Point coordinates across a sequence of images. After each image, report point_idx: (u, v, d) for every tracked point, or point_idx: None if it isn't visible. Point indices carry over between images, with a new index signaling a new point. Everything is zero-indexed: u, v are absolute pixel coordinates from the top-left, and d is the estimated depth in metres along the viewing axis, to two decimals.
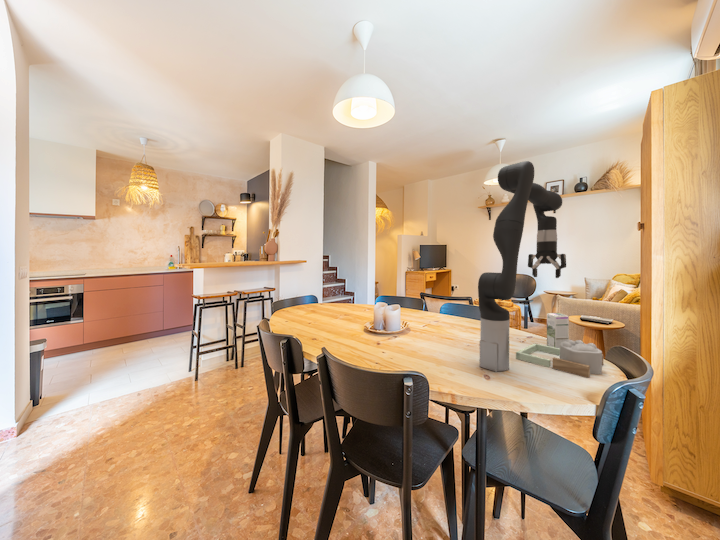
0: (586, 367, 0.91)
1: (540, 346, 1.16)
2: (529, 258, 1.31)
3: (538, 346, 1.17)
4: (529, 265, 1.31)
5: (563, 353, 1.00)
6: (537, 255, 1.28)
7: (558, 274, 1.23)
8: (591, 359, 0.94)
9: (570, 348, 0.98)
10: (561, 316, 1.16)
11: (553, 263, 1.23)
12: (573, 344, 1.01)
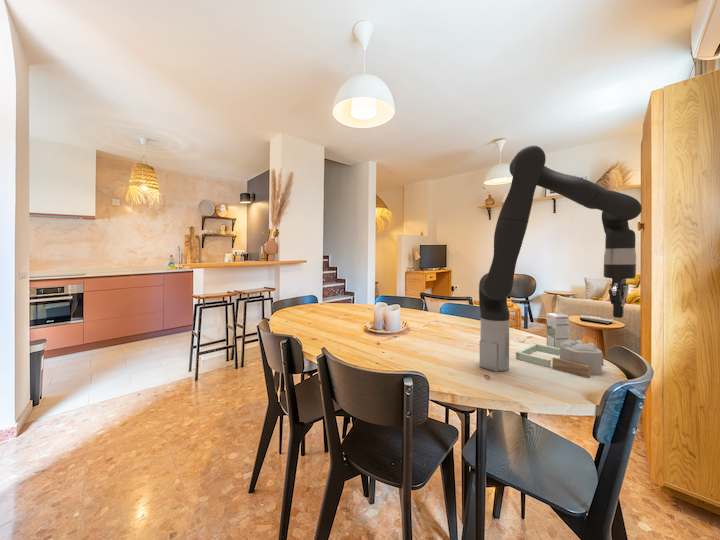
0: (586, 367, 0.91)
1: (540, 346, 1.16)
2: (620, 295, 0.87)
3: (538, 346, 1.17)
4: (621, 302, 0.88)
5: (563, 353, 1.00)
6: (621, 284, 0.88)
7: None
8: (591, 359, 0.94)
9: (570, 348, 0.98)
10: (561, 316, 1.16)
11: (626, 296, 0.90)
12: (573, 344, 1.01)
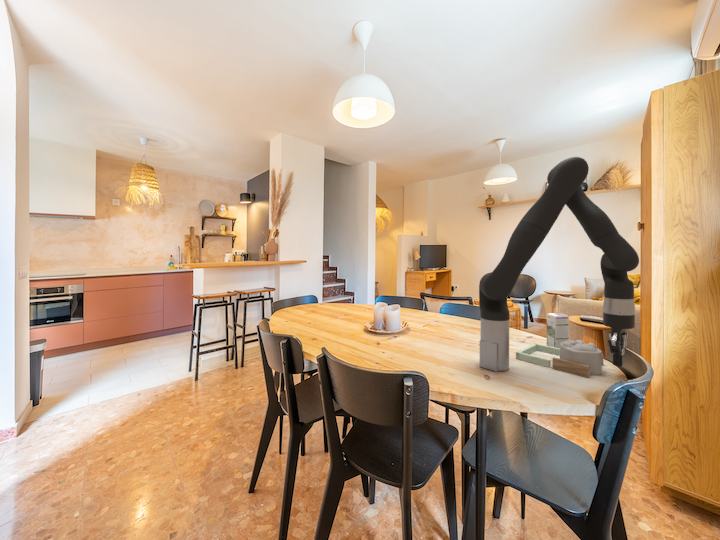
0: (586, 367, 0.91)
1: (540, 346, 1.16)
2: (619, 346, 0.88)
3: (538, 346, 1.17)
4: (621, 352, 0.89)
5: (563, 353, 1.00)
6: (620, 334, 0.89)
7: None
8: (591, 359, 0.94)
9: (570, 348, 0.98)
10: (561, 316, 1.16)
11: (625, 345, 0.91)
12: (573, 344, 1.01)
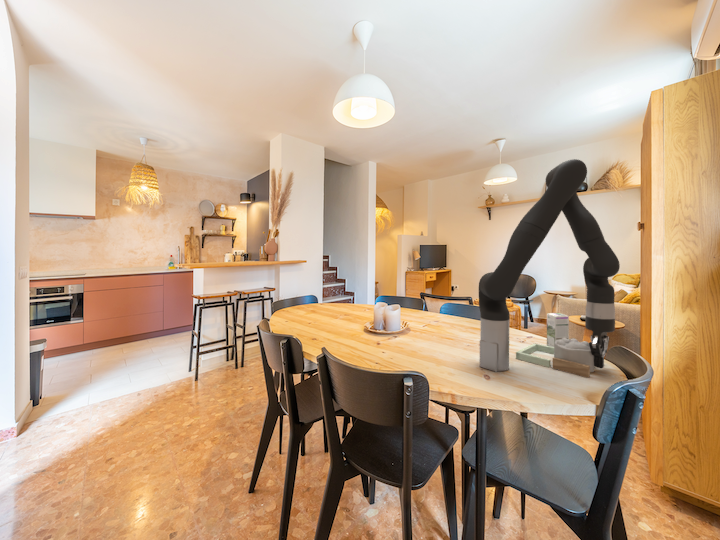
0: (586, 367, 0.91)
1: (540, 346, 1.16)
2: (599, 348, 0.91)
3: (538, 346, 1.17)
4: (601, 354, 0.93)
5: (557, 351, 1.02)
6: (600, 337, 0.92)
7: None
8: (583, 357, 0.95)
9: (563, 346, 1.00)
10: (561, 316, 1.16)
11: (606, 347, 0.94)
12: (566, 342, 1.03)
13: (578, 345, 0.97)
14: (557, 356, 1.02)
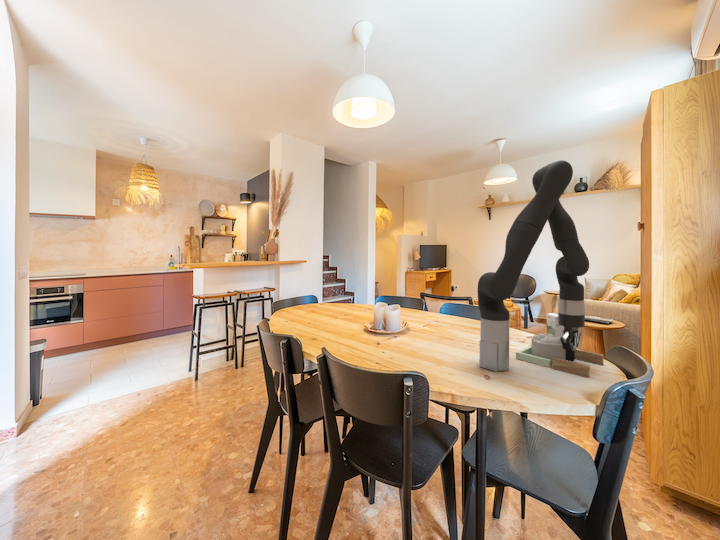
0: (586, 367, 0.91)
1: None
2: (570, 342, 0.98)
3: None
4: (572, 348, 0.99)
5: (532, 345, 1.09)
6: (571, 332, 0.98)
7: None
8: (555, 351, 1.02)
9: (538, 340, 1.06)
10: None
11: (577, 342, 1.01)
12: (542, 337, 1.09)
13: (551, 340, 1.04)
14: (533, 350, 1.08)
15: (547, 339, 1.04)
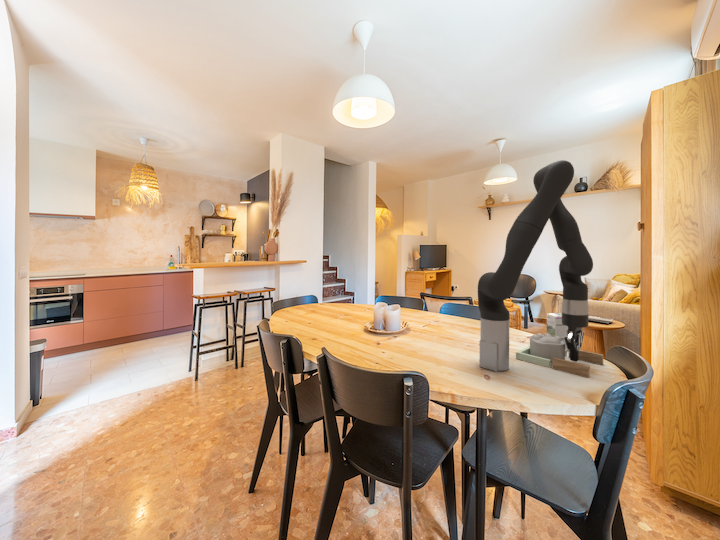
0: (586, 367, 0.91)
1: None
2: (574, 342, 0.97)
3: None
4: (576, 348, 0.99)
5: (531, 345, 1.09)
6: (575, 332, 0.98)
7: None
8: (554, 350, 1.03)
9: (537, 340, 1.07)
10: (561, 316, 1.16)
11: (581, 342, 1.00)
12: (541, 337, 1.10)
13: (550, 339, 1.05)
14: (531, 350, 1.09)
15: (546, 339, 1.05)
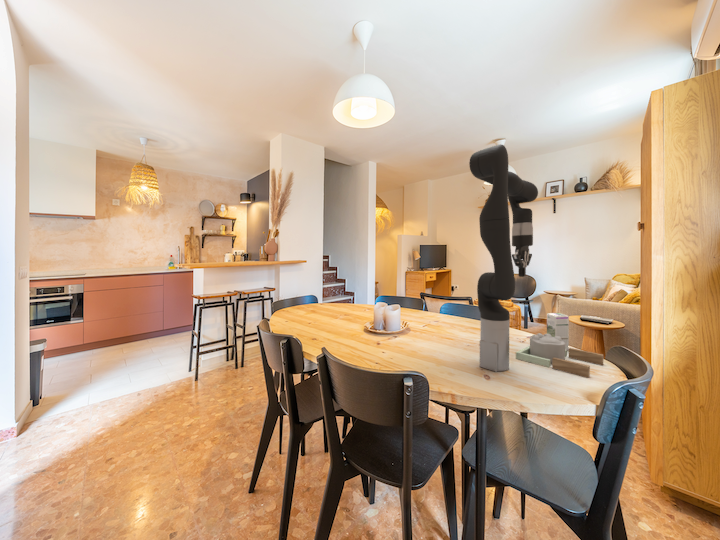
0: (586, 367, 0.91)
1: None
2: (519, 258, 1.15)
3: None
4: (522, 264, 1.16)
5: (531, 345, 1.09)
6: (521, 250, 1.15)
7: None
8: (554, 350, 1.03)
9: (537, 340, 1.07)
10: (561, 316, 1.16)
11: (527, 260, 1.18)
12: (541, 337, 1.10)
13: (550, 339, 1.05)
14: (531, 350, 1.09)
15: (546, 339, 1.05)
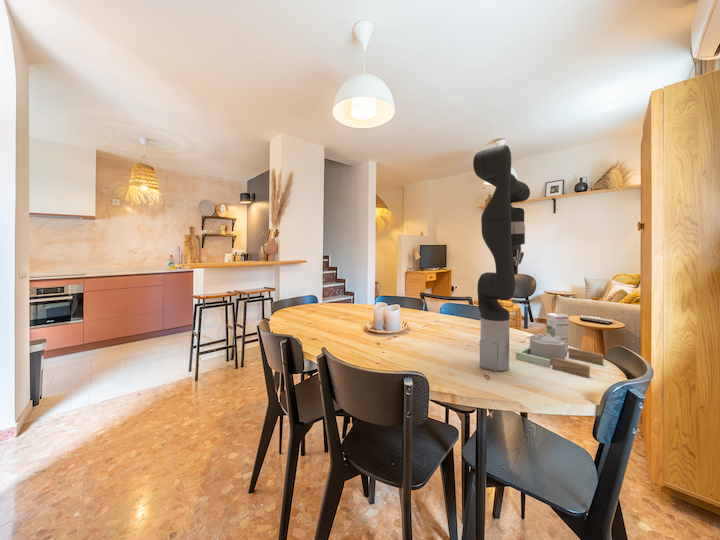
0: (586, 367, 0.91)
1: None
2: (512, 256, 1.18)
3: None
4: (514, 262, 1.19)
5: (531, 345, 1.09)
6: (513, 248, 1.18)
7: None
8: (554, 350, 1.03)
9: (537, 340, 1.07)
10: (561, 316, 1.16)
11: (519, 258, 1.21)
12: (541, 337, 1.10)
13: (550, 339, 1.05)
14: (531, 350, 1.09)
15: (546, 339, 1.05)
